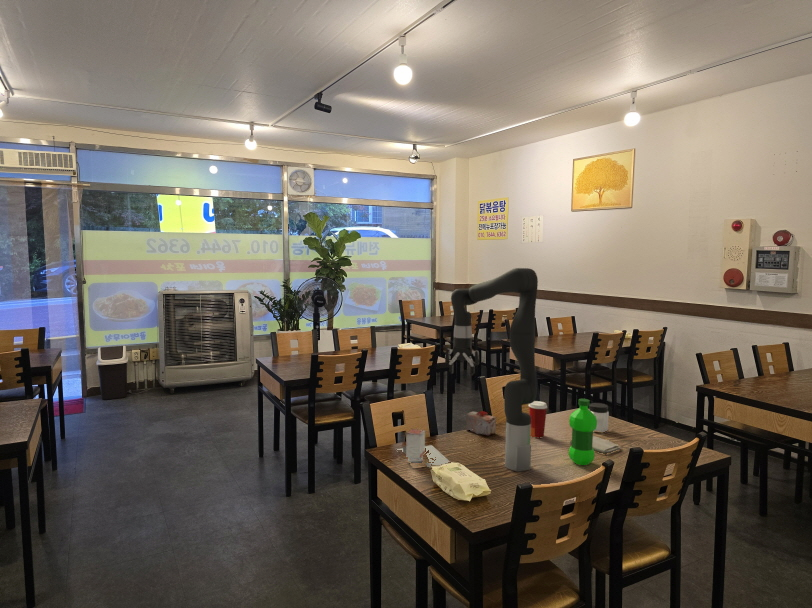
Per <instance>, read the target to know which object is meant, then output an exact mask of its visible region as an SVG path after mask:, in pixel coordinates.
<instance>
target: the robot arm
mask: <svg viewBox="0 0 812 608" xmlns="http://www.w3.org/2000/svg"><path fill="white" fill-rule="evenodd" d="M538 283H539V280H538V275H537V272H536V271H535V270H533V268H528V267H525V268H523V267H515V268H512V269H510V270H509V271H507V272H505V273H503V274H501V275H499V276H497V277H495V278H493V279H490V280H486V281H483V282H480V283H477V284H473V285H472V286H471V287H469V288H455V289H454V290H453V291H452V292H451V295H450V297H451V298H450V303H451V306H452V310H453V315H454V325H453V326H454V328H453V346H452V347H453V348H452V349H451V348H449V347H448V348H446V349H445V359H444V362H445V364H448V365H449V366H448V367H449V368H448V371H449V373H450V374H454V373H455V372H454V371H455V370H454V368H455V367H454V363H455V361H456V360H457V361H467V363H469V365H470V369H469V370H470V373H469V375H470V376H473V375H474V374H475V371H476V370H475V367H476V366H478V365H480V352H479V350H472V337H473V333H472V331H473V330H472V313H471V312H470V311H466V309H465V306H471V305H475V304H476V303H479V302H483V301H487V300H490V299H492V298H494V297H496V296H497V295H499V294H505V293H508V294H509V293H516V294H519V296H518V297H519V298H518V299H519V302H518V308H517V311H516V313H515V315H514V317H513V319H512V320H511V321H512V322H511V323H510V327H509V346H510V349H511V352H512V353H513V355H514V357H515V359H516V361H517V363H518V365H519V371H520V373H519V375H520V379H518V380H511V381H508V382H507V383H506V384H505V387H504V392H503V394H504V397H503V398H504V401H503V402H504V404H503V405H504V415H505V419H506V420H505V421H506V423H505V447H504V467H505V468H506V469H509V470H511V471H515V472H524V471H530V470H531V463H532V462H531V461H532V459H531V458H532V445H531V416H530V415H529V413H526V412H523V406H524V405H529V404H530V403H533V402H534V401H536V399H537V396H538V394H537V393H538V391H537V390H538V389H537V378H536V377H537V376H536V364H535V363H536V359H535V358H536V357H535V354H536V353H535V349H536V347H535V346H536V344H535V343H536V323H535V322H536V302H537V295H538V293H537V292H538V286H539V285H538ZM451 354H453V357H452V359H450V356H451ZM472 355H473V357H474V360H473V358H472V357H471V356H472Z"/></svg>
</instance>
